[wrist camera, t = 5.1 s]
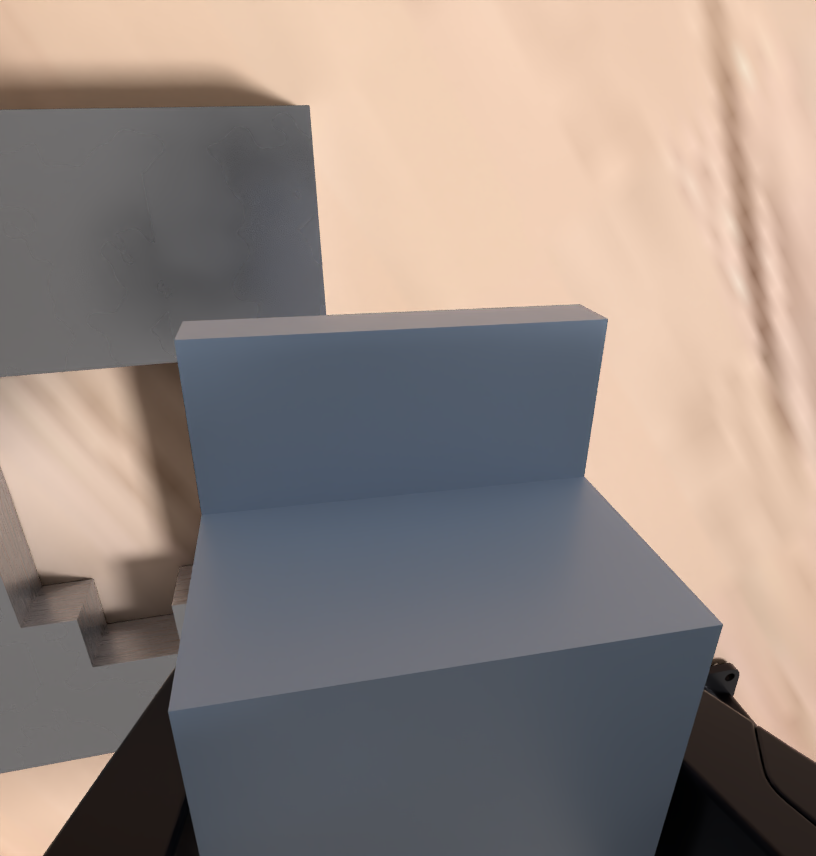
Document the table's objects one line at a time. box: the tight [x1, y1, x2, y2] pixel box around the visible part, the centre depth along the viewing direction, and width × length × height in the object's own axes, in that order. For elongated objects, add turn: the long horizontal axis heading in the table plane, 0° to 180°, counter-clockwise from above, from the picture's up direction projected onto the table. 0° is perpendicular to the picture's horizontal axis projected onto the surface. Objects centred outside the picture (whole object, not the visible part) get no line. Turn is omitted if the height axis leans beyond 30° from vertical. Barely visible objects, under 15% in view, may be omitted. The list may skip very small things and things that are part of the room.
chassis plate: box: [0, 105, 326, 773], centre depth 18 cm, size 20×14×2 cm
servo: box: [168, 304, 723, 856], centre depth 8 cm, size 4×10×6 cm, turn 179°
